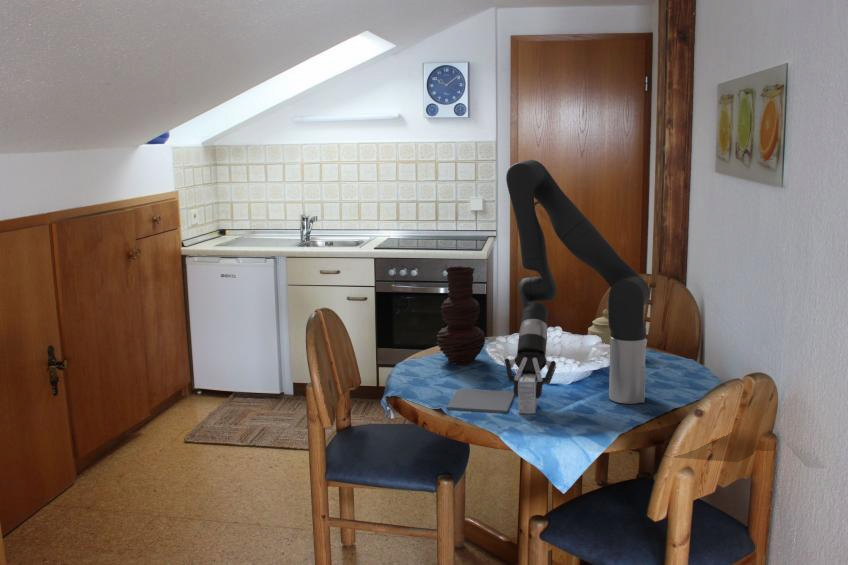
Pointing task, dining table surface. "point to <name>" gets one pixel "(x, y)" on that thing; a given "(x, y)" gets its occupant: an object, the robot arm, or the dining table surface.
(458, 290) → the vase
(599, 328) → the sugar bowl
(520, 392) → the medicine box
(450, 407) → the charcoal mat
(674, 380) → the dining table surface
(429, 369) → the dining table surface
